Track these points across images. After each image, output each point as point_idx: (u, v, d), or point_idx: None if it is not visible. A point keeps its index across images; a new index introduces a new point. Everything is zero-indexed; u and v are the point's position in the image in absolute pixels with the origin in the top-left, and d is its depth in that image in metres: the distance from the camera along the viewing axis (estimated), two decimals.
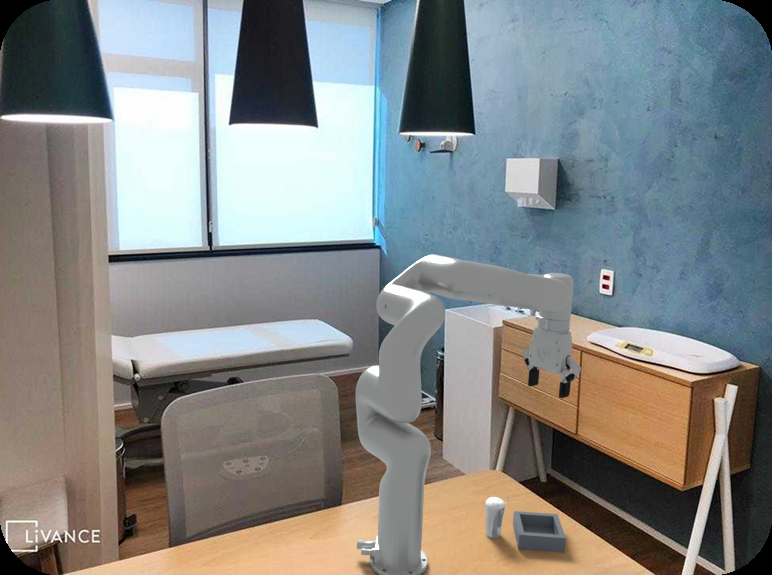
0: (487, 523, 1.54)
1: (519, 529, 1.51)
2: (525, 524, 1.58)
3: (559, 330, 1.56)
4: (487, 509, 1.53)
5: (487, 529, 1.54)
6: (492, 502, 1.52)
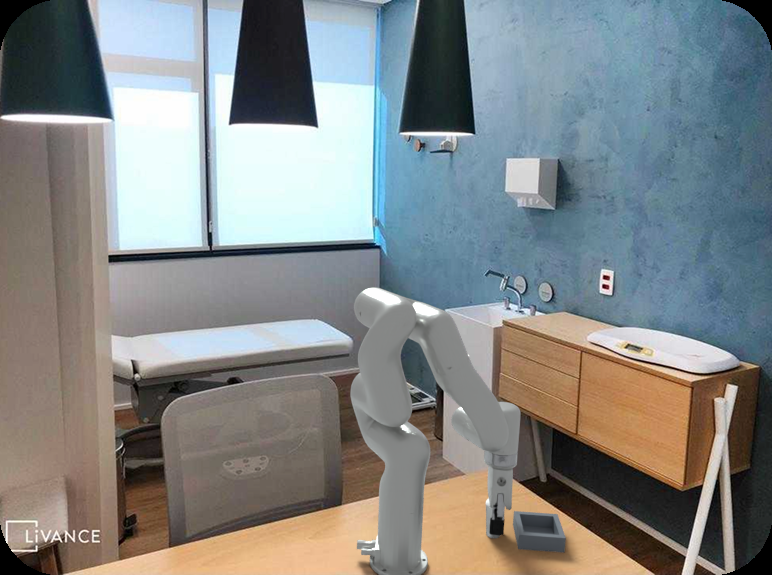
0: (487, 523, 1.54)
1: (519, 529, 1.51)
2: (525, 524, 1.58)
3: None
4: (487, 509, 1.53)
5: (487, 529, 1.54)
6: None
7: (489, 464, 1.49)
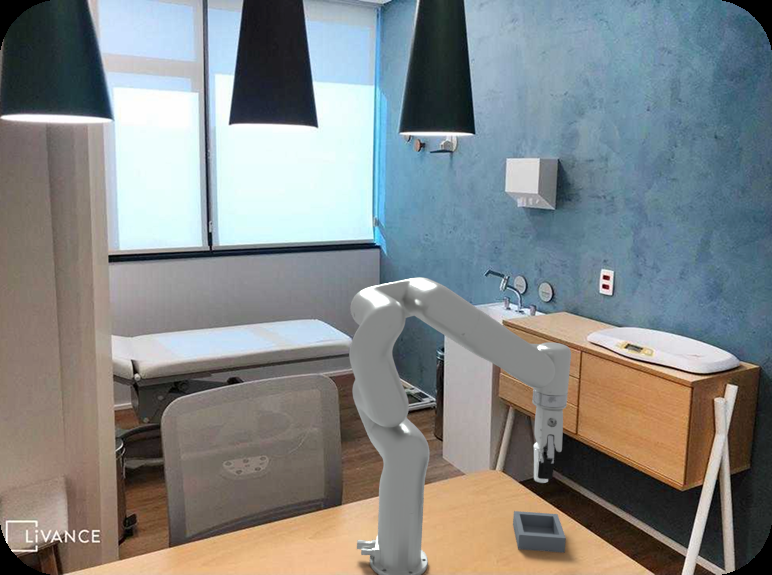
0: (535, 467, 1.50)
1: (519, 529, 1.51)
2: (525, 524, 1.58)
3: None
4: (535, 452, 1.49)
5: (535, 473, 1.50)
6: None
7: (539, 405, 1.46)
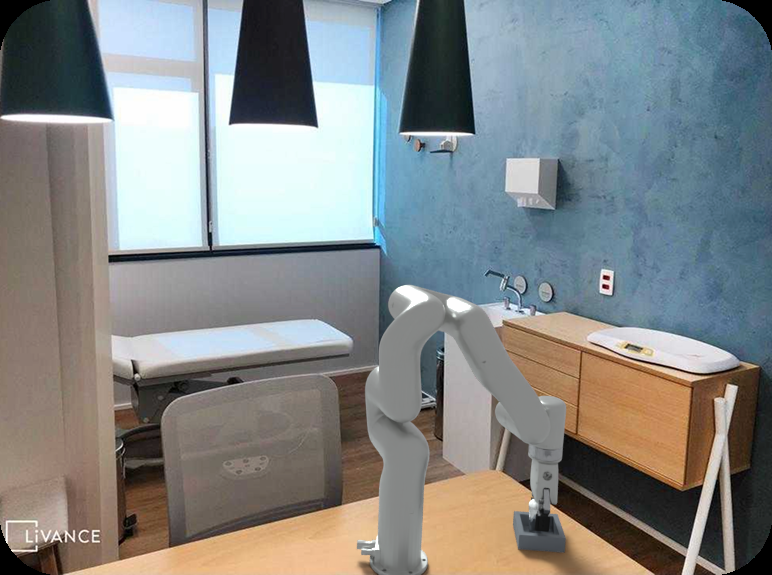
0: (530, 525, 1.52)
1: (519, 529, 1.51)
2: (525, 524, 1.58)
3: None
4: (531, 511, 1.51)
5: (530, 531, 1.53)
6: (536, 504, 1.51)
7: (534, 458, 1.48)
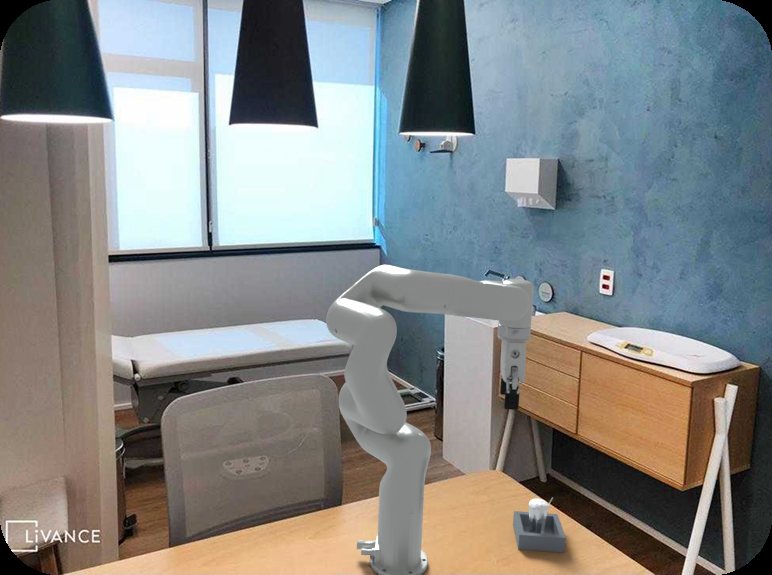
0: (530, 525, 1.52)
1: (519, 529, 1.51)
2: (525, 524, 1.58)
3: None
4: (531, 511, 1.51)
5: (530, 531, 1.53)
6: (536, 503, 1.51)
7: (503, 338, 1.52)
